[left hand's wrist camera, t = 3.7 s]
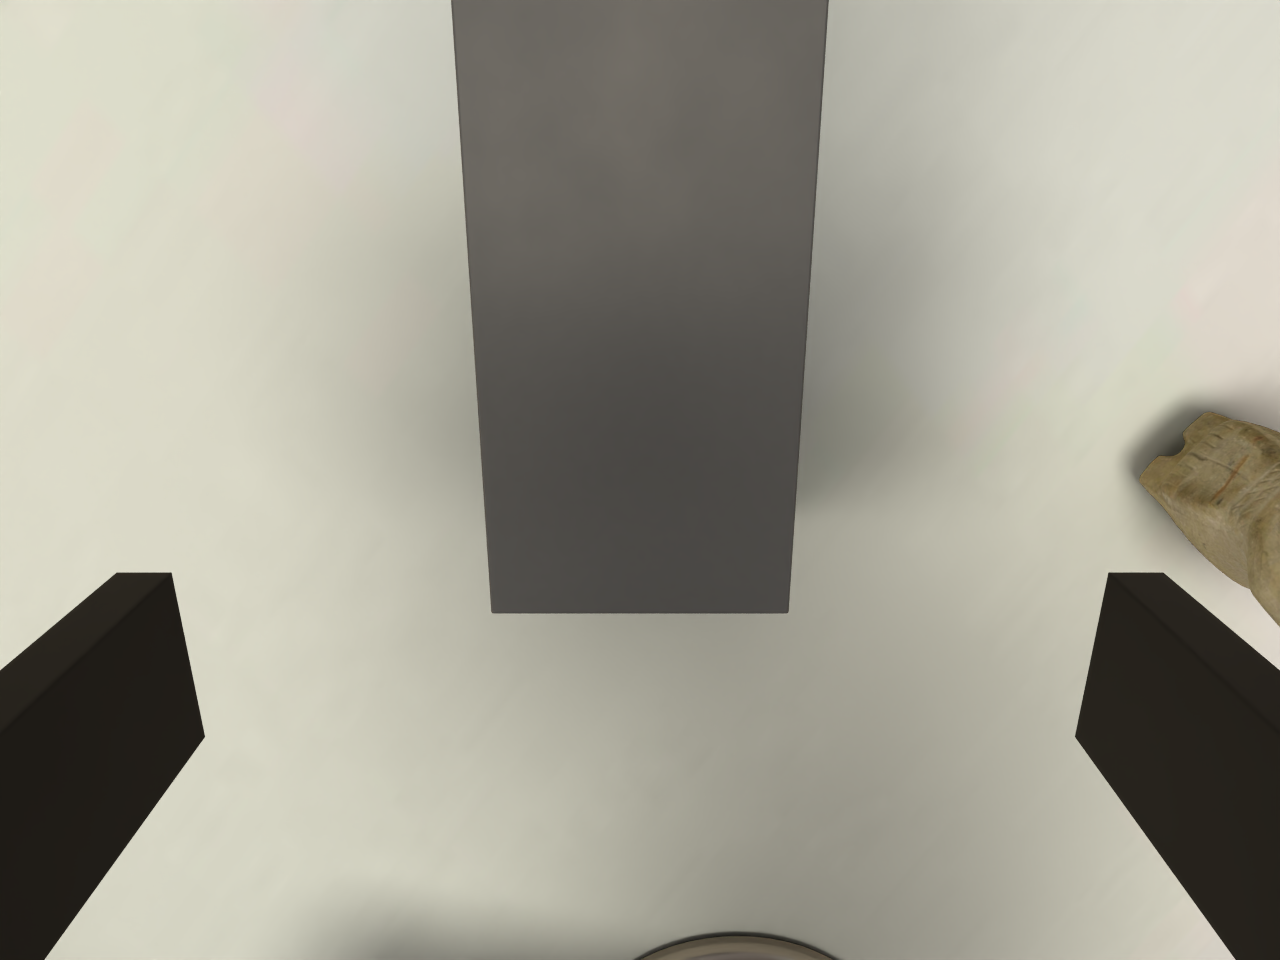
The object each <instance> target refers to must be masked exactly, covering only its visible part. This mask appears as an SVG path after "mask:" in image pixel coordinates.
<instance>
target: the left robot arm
mask: <svg viewBox="0 0 1280 960" xmlns="http://www.w3.org/2000/svg"><path fill="white" fill-rule="evenodd" d="M204 737H205V735H204V730H203V725H202V720H201V715H200V710H199V705H198V700H197V695H196V690H195V686H194V681H193V676H192V671H191V666H190V661H189V656H188V651H187V646H186V642H185V637H184V632H183V627H182V622H181V617H180V612H179V607H178V602H177V597H176V593H175V588H174V583H173V578H172V573H116V574H115V575H113V576H112V577H111V578H110V579H109V580H107V581H106V582H105V583H104V584H103V585H101V586H100V587H99V588H98V589H97V590H96V591H94V592H93V593H92V594H91V595H90V596H88V597H87V598H86V599H85V600H84V601H82V602H81V603H80V604H79V605H78V606H76V607H75V608H74V609H73V610H72V611H71V612H69V613H68V614H67V615H66V616H65V617H63V618H62V619H61V620H60V621H59V622H57V623H56V624H55V625H54V626H53V627H51V628H50V629H49V630H48V631H47V632H46V633H44V634H43V635H42V636H41V637H40V638H38V639H37V640H36V641H35V642H34V643H32V644H31V645H30V646H29V647H28V648H26V649H25V650H24V651H23V652H22V653H20V654H19V655H18V656H17V657H16V658H15V659H13V660H12V661H11V662H10V663H9V664H7V665H6V666H5V667H4V668H3V669H1V670H0V960H44V959H45V958H46V957H47V955H48V954H49V952H50V951H51V950H52V948H53V947H54V946H55V944H56V943H57V941H58V940H59V939H60V937H61V936H62V934H63V933H64V932H65V930H66V929H67V928H68V926H69V925H70V923H71V922H72V921H73V919H74V918H75V916H76V915H77V914H78V912H79V911H80V909H81V908H82V907H83V905H84V904H85V903H86V901H87V900H88V898H89V897H90V896H91V894H92V893H93V891H94V890H95V889H96V887H97V886H98V885H99V883H100V882H101V880H102V879H103V878H104V876H105V875H106V873H107V872H108V871H109V869H110V868H111V866H112V865H113V864H114V862H115V861H116V860H117V858H118V857H119V855H120V854H121V853H122V851H123V850H124V848H125V847H126V846H127V844H128V843H129V842H130V840H131V839H132V837H133V836H134V835H135V833H136V832H137V830H138V829H139V828H140V826H141V825H142V823H143V822H144V821H145V819H146V818H147V817H148V815H149V814H150V812H151V811H152V810H153V808H154V807H155V805H156V804H157V803H158V801H159V800H160V799H161V797H162V796H163V794H164V793H165V792H166V790H167V789H168V787H169V786H170V785H171V783H172V782H173V780H174V779H175V778H176V776H177V775H178V774H179V772H180V771H181V769H182V768H183V767H184V765H185V764H186V762H187V761H188V760H189V758H190V757H191V756H192V754H193V753H194V751H195V750H196V749H197V747H198V746H199V744H200V743H201V742H202V740H203V739H204ZM1075 737H1076V739H1077V740H1078V742H1079V743H1080V744H1081V746H1082V747H1083V749H1084V750H1085V751H1086V753H1087V754H1088V756H1089V757H1090V758H1091V760H1092V761H1093V762H1094V764H1095V765H1096V767H1097V768H1098V769H1099V771H1100V772H1101V774H1102V775H1103V776H1104V778H1105V779H1106V780H1107V782H1108V783H1109V785H1110V786H1111V787H1112V789H1113V790H1114V792H1115V793H1116V794H1117V796H1118V797H1119V799H1120V800H1121V801H1122V803H1123V804H1124V805H1125V807H1126V808H1127V810H1128V811H1129V812H1130V814H1131V815H1132V817H1133V818H1134V819H1135V821H1136V822H1137V823H1138V825H1139V826H1140V828H1141V829H1142V830H1143V832H1144V833H1145V835H1146V836H1147V837H1148V839H1149V840H1150V842H1151V843H1152V844H1153V846H1154V847H1155V848H1156V850H1157V851H1158V853H1159V854H1160V855H1161V857H1162V858H1163V860H1164V861H1165V862H1166V864H1167V865H1168V866H1169V868H1170V869H1171V871H1172V872H1173V873H1174V875H1175V876H1176V878H1177V879H1178V880H1179V882H1180V883H1181V885H1182V886H1183V887H1184V889H1185V890H1186V891H1187V893H1188V894H1189V896H1190V897H1191V898H1192V900H1193V901H1194V903H1195V904H1196V905H1197V907H1198V908H1199V909H1200V911H1201V912H1202V914H1203V915H1204V916H1205V918H1206V919H1207V921H1208V922H1209V923H1210V925H1211V926H1212V928H1213V929H1214V930H1215V932H1216V933H1217V934H1218V936H1219V937H1220V939H1221V940H1222V941H1223V943H1224V944H1225V946H1226V947H1227V948H1228V950H1229V951H1230V952H1231V954H1232V955H1233V957H1234V958H1235V959H1236V960H1280V670H1279V669H1277V668H1276V667H1275V666H1274V665H1273V664H1271V663H1270V662H1269V661H1268V660H1267V659H1265V658H1264V657H1263V656H1262V655H1261V654H1260V653H1258V652H1257V651H1256V650H1255V649H1254V648H1252V647H1251V646H1250V645H1249V644H1248V643H1246V642H1245V641H1244V640H1243V639H1242V638H1240V637H1239V636H1238V635H1237V634H1236V633H1234V632H1233V631H1232V630H1231V629H1230V628H1229V627H1227V626H1226V625H1225V624H1224V623H1223V622H1221V621H1220V620H1219V619H1218V618H1217V617H1215V616H1214V615H1213V614H1212V613H1211V612H1209V611H1208V610H1207V609H1206V608H1205V607H1204V606H1202V605H1201V604H1200V603H1199V602H1198V601H1196V600H1195V599H1194V598H1193V597H1192V596H1190V595H1189V594H1188V593H1187V592H1186V591H1184V590H1183V589H1182V588H1181V587H1180V586H1179V585H1177V584H1176V583H1175V582H1174V581H1173V580H1171V579H1170V578H1169V577H1168V576H1167V575H1165V574H1164V573H1108V578H1107V583H1106V588H1105V593H1104V597H1103V602H1102V607H1101V612H1100V617H1099V622H1098V627H1097V632H1096V637H1095V641H1094V646H1093V651H1092V656H1091V661H1090V666H1089V671H1088V676H1087V681H1086V686H1085V690H1084V695H1083V700H1082V705H1081V710H1080V715H1079V720H1078V725H1077V730H1076V735H1075ZM641 960H832V959H830V958H828V957H827V956H824V955H822V954H820V953H818V952H816V951H814V950H811V949H808V948H805V947H803V946H800V945H796V944H793V943H789V942H785V941H780V940H775V939H770V938H761V937H750V936H726V937H714V938H705V939H700V940H694V941H689V942H685V943H682V944H678V945H674V946H671V947H669V948H666V949H663V950H660V951H658V952H655V953H653V954H651V955H649V956H647V957H645V958H643V959H641Z"/></svg>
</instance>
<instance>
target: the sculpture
mask: <svg viewBox="0 0 1280 960" xmlns="http://www.w3.org/2000/svg"><path fill="white" fill-rule="evenodd" d="M1183 439H1184V441H1185V446H1184V448H1183V449H1182V451H1181V452H1180V453H1179V454H1177V455H1174V456H1162V455H1161V456H1158V457H1157V458H1156V459H1155V460H1154V461H1152V462H1151V463H1150V464H1149V466H1148V467H1147V468H1146V469H1145V471H1144V472H1143V473H1142V474H1141V476H1140V479H1139V481H1140V483H1141V484H1142V485H1143V487H1144V488H1145V489H1146V490H1147V491H1148V492H1149V493H1150V494H1151V495H1152V496H1153V497H1154V498H1155V499H1156V500H1157V501H1158V502H1159V503H1160V504H1161V505H1162V506H1163V508H1164V509H1165V510H1166V511H1167V513H1168V514H1169V515H1170V517H1171V518H1172V519H1173V521H1174V522H1175V524H1176V525H1177V526H1178V527H1179V528H1180V529H1181V531H1182V532H1183V533H1184V535H1185V536H1186V537H1187V538H1188V540H1189V541H1190V542H1191V543H1192V544H1193V545H1194V546H1195V547H1196V548H1197V549H1198V550H1199V552H1200V553H1202V554H1203V555H1204V556H1205V557H1206V558H1207V559H1208V560H1209V561H1210V562H1211V563H1212V564H1213V565H1214V566H1215V567H1217V568H1218V569H1219V570H1220V571H1221V572H1223V573H1224V574H1225V575H1227V576H1228V577H1229V578H1231V579H1232V580H1233V581H1235V582H1237V583H1238V584H1240V585H1242V586H1244V587H1246V588H1249V589H1250V590H1251V592H1252V594H1253V595H1254V597H1255V598H1256V599H1257V601H1258V602H1259V603H1260V604H1261V606H1262V607H1263V608H1264V609H1265V611H1266V612H1267V613H1268V614H1269V615H1270V616H1271V617H1272V619H1273V620H1274V621H1275V622H1276V623H1277V624H1278V625H1279V627H1280V433H1279V432H1276V431H1274V430H1272V429H1269V428H1266V427H1263V426H1260V425H1256V424H1252V423H1249V422H1244V421H1238V420H1232V419H1230V418H1227V417H1225V416H1222V415H1219V414H1215V413H1212V412H1206V413H1204V414H1203V415H1201V416H1200V417H1199V418H1198V419H1197V420H1195V421H1194V422H1193V423H1192V424H1191V425H1190V426H1188V427H1187V428H1186V429H1185V431H1184V432H1183Z"/></svg>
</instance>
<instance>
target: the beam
mask: <svg viewBox="0 0 1280 960" xmlns="http://www.w3.org/2000/svg"><path fill="white" fill-rule="evenodd" d="M828 3H829V0H451V5H452V20H453V35H454V51H455V66H456V81H457V96H458V111H459V126H460V142H461V157H462V172H463V187H464V202H465V218H466V233H467V248H468V263H469V278H470V294H471V309H472V324H473V339H474V354H475V370H476V385H477V400H478V415H479V430H480V446H481V461H482V476H483V491H484V506H485V521H486V537H487V552H488V567H489V582H490V597H491V611H492V613H788V611H789V596H790V581H791V566H792V550H793V535H794V520H795V505H796V489H797V474H798V459H799V444H800V429H801V413H802V398H803V383H804V368H805V353H806V337H807V322H808V307H809V292H810V277H811V261H812V246H813V231H814V216H815V201H816V185H817V170H818V155H819V140H820V125H821V109H822V94H823V79H824V64H825V49H826V33H827V18H828Z"/></svg>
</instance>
